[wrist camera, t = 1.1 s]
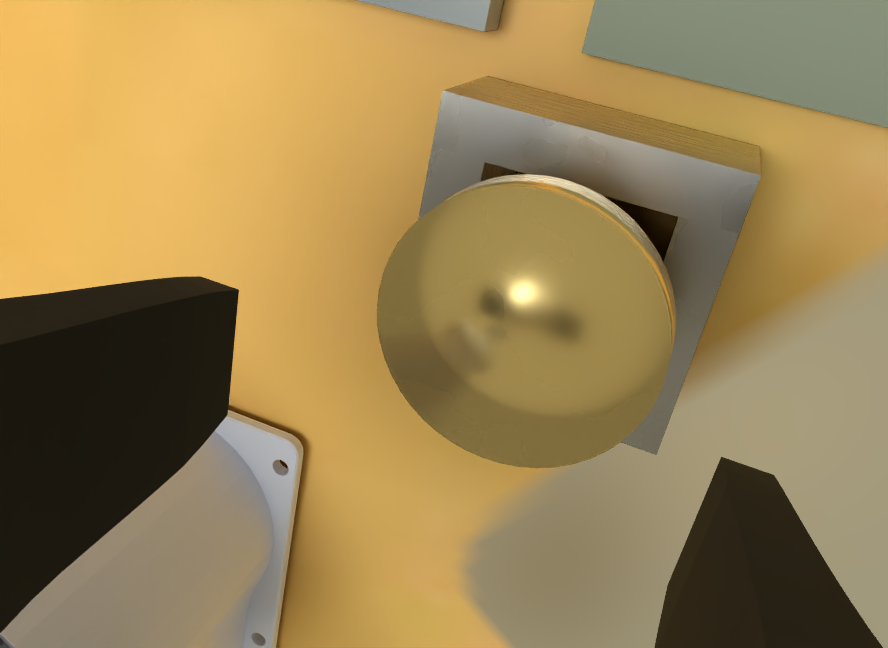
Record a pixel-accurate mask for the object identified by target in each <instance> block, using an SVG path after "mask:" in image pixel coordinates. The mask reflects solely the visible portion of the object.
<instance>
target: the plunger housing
mask: <svg viewBox="0 0 888 648" xmlns="http://www.w3.org/2000/svg"><path fill="white" fill-rule="evenodd" d="M515 171H518V172H522V173H525V174H531V175H544V176H550V177H555V178H560V179H564V180H568V181H571V182H573V183H576V184H579V185H582V186H585V187H587V188H589V189H591V190H593V191H594V192H596V193H598V194H600V195H603V196H606V197H610V198H613V199H617V200H621V201H624V202H628V203H631V204H635V205H638V206H642V207H645V208H649V209H652V210H656V211H659V212H663V213H666V214H670V215H673V216H677V217H678V219H677V222H676V225H675V228H674V231H673V234H672V237H671V240H670V243H669V246H668V249H667V252H666V255H665V258H664V261H663V263H664V265H665V267H666V270H667V272H668V276H669V279H670V282H671V285H672V288H673V294H674V300H675V306H676V329H675V337H674V344H673V349H672V353H671V358H670V362H669V367H668V370H667V374H666V378H665V381H664V385H663V387H662V389H661V392H660V394H659V396H658V398H657V400H656V403H655V404H654V406H653V407H652V409H651V410H650V412H649V413H648V415H647V416H646V418H645V419H644V420H643V421H642V422H641V423H640V425H639V426H638V427H637V428H636V429H635V430H634V431H633V432H632V433H631V434H630V435H628V436H627V437H626V438H625V439H624V440H623V441H621V443H624V444H627V445H630V446H633V447H636V448H638V449H641V450H644V451H647V452H650V453H653V454H657V452H658V449H659V446H660V443H661V441H662V438H663V436H664V433H665V430H666V428H667V425H668V422H669V420H670V417H671V414H672V412H673V409H674V406H675V404H676V401H677V398H678V396H679V393H680V390H681V388H682V385H683V382H684V380H685V377H686V374H687V372H688V369H689V366H690V364H691V361H692V358H693V356H694V353H695V350H696V348H697V345H698V342H699V340H700V337H701V334H702V332H703V329H704V326H705V324H706V321H707V318H708V316H709V313H710V310H711V308H712V305H713V302H714V300H715V297H716V294H717V292H718V289H719V286H720V284H721V281H722V278H723V276H724V273H725V271H726V268H727V265H728V263H729V260H730V257H731V255H732V252H733V249H734V247H735V244H736V241H737V239H738V236H739V233H740V231H741V228H742V225H743V223H744V220H745V217H746V215H747V212H748V209H749V207H750V204H751V201H752V199H753V196H754V193H755V191H756V188H757V185H758V183H759V180H760V177H761V162H760V146H756V145H752V144H748V143H744V142H740V141H736V140H732V139H729V138H725V137H721V136H717V135H713V134H709V133H705V132H701V131H698V130H694V129H690V128H686V127H682V126H678V125H674V124H671V123H667V122H663V121H659V120H655V119H651V118H647V117H643V116H640V115H636V114H632V113H628V112H624V111H620V110H616V109H612V108H609V107H605V106H601V105H597V104H593V103H589V102H585V101H582V100H578V99H574V98H570V97H566V96H562V95H558V94H554V93H551V92H547V91H543V90H539V89H535V88H531V87H527V86H523V85H520V84H516V83H512V82H508V81H504V80H500V79H496V78H493V77H489V76H487V77H484V78H481V79H478V80H474V81H471V82H468V83H465V84H462V85H459V86H456V87H453V88H450V89H447V90H444V91H443V92H442V98H441V103H440V108H439V114H438V119H437V124H436V129H435V135H434V140H433V145H432V151H431V156H430V161H429V166H428V172H427V177H426V182H425V188H424V193H423V198H422V204H421V209H420V214H419V219H420V218H421V217H422V216H424V215H425V214H427V213H428V212H429V211H431V210H432V209H434V208H435V207H437V206H438V205H439V204H441V203H442V202H444V201H445V200H447V199H448V198H450V197H451V196H453V195H454V194H456V193H457V192H459V191H461V190H463V189H465V188H467V187H469V186H471V185H473V184H476V183H479V182H482V181H485V180H488V179H491V178H496V177H501V176H507V175H514V172H515ZM419 219H418V220H419Z"/></svg>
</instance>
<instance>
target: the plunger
mask: <svg viewBox="0 0 888 648" xmlns="http://www.w3.org/2000/svg"><path fill="white" fill-rule="evenodd" d="M377 323H378V331H379V338H380V343H381V347H382V351H383V354H384V358H385V361H386V363H387V365H388V368H389V370H390V373H391V375H392V377H393V379H394V380H395V382H396V384H397V386H398V388H399V389H400V391H401V393H402V394H403V395H404V397H405V398H406V400H407V401H408V402H409V404H410V405H411V406H412V407H413V409H414V410H415V411H416V412H417V413H418V414H419V415H420V416H421V417H422V419H423V420H425V421H426V422H427V423H428V424H429V425H430V426H431V427H432V428H433V429H435V430H436V431H437V432H438V433H440V434H441V435H442V436H444V437H445V438H447V439H448V440H449V441H451V442H453V443H454V444H456V445H458V446H460V447H461V448H463V449H465V450H467V451H469V452H471V453H473V454H476V455H478V456H480V457H483V458H486V459H489V460H492V461H495V462H498V463H502V464H508V465H513V466H518V467H530V468H547V467H559V466H564V465H570V464H575V463H578V462H581V461H584V460H588V459H591V458H593V457H595V456H597V455H599V454H602V453H604V452H606V451H607V450H609V449H611V448H612V447H614V446H615V445H617V444H619V443H620V442H621V441H623V440H624V439H625V438H626V437H627V436H628V435H630V434H631V433H632V432H633V431H634V430H635V429H636V428H637V427H638V426H639V425H640V423H641V422H642V421H643V420H644V419H645V418H646V416H647V415H648V413H649V412H650V410H651V409H652V407H653V406H654V404H655V403H656V400H657V398H658V396H659V394H660V392H661V389H662V387H663V385H664V381H665V378H666V374H667V370H668V367H669V362H670V358H671V353H672V349H673V344H674V337H675V329H676V306H675V300H674V294H673V288H672V285H671V282H670V279H669V276H668V272H667V270H666V267H665V265H664V263H663V261H662V259H661V257H660V255H659V253H658V251H657V250H656V248H655V246H654V245H653V243H652V242H651V240H650V239H649V237H648V236H647V235H646V233H645V232H644V231H643V230H642V229H641V228H640V226H639V225H638V224H637V223H636V222H635V221H634V220H633V219H632V218H631V217H630V216H629V215H628V214H627V213H625V212H624V211H623V210H622V209H621V208H620V207H619V206H617V205H616V204H614V203H613V202H611V201H610V200H608V199H607V198H605V197H604V196H602V195H600V194H598V193H596V192H594V191H593V190H591V189H589V188H587V187H585V186H582V185H579V184H576V183H573V182H571V181H568V180H564V179H560V178H555V177H550V176H544V175H531V174H521V175H507V176H501V177H496V178H491V179H488V180H485V181H482V182H479V183H476V184H473V185H471V186H469V187H467V188H465V189H463V190H461V191H459V192H457V193H456V194H454V195H453V196H451V197H450V198H448V199H447V200H445V201H444V202H442V203H441V204H439V205H438V206H437V207H435V208H434V209H432V210H431V211H429V212H428V213H427V214H425V215H424V216H422V217H421V218H420V219H419V220H418V221H417V222H416V223H415V224H414V225H413V226H412V227H411V228H410V229H409V230H408V231H407V232H406V233H405V235H404V236H403V237H402V239H401V240H400V241H399V242H398V244H397V246H396V247H395V249H394V251H393V253H392V254H391V256H390V258H389V260H388V263H387V265H386V268H385V270H384V273H383V276H382V280H381V284H380V288H379V294H378V304H377Z"/></svg>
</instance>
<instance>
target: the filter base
mask: <svg viewBox="0 0 888 648" xmlns="http://www.w3.org/2000/svg"><path fill="white" fill-rule="evenodd" d="M357 1H361V2H365V3H369V4H373V5H377V6H382V7H386V8H390V9H394V10H398V11H402V12H406V13H410V14H414V15H418V16H422V17H426V18H430V19H434V20H439V21H443V22H447V23H451V24H455V25H459V26H463V27H467V28H471V29H475V30H479V31H483V32H485V31H492V30H497V29H498V25H499V20H500V15H501V10H502V6H503V1H504V0H357Z"/></svg>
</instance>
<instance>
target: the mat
mask: <svg viewBox="0 0 888 648" xmlns="http://www.w3.org/2000/svg"><path fill="white" fill-rule="evenodd" d="M582 53H584V54H588V55H592V56H597V57H601V58H605V59H609V60H613V61H617V62H621V63H625V64H629V65H633V66H637V67H641V68H646V69H650V70H654V71H658V72H662V73H666V74H670V75H674V76H678V77H682V78H686V79H691V80H695V81H699V82H703V83H707V84H711V85H715V86H719V87H723V88H727V89H731V90H735V91H740V92H744V93H748V94H752V95H756V96H760V97H764V98H768V99H772V100H776V101H780V102H784V103H789V104H793V105H797V106H801V107H805V108H809V109H813V110H817V111H821V112H825V113H829V114H834V115H838V116H842V117H846V118H850V119H854V120H858V121H862V122H866V123H870V124H874V125H878V126H883V127H887V128H888V0H595V3H594V7H593V11H592V15H591V19H590V22H589V26H588V30H587V34H586V38H585V42H584V46H583V50H582Z"/></svg>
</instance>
